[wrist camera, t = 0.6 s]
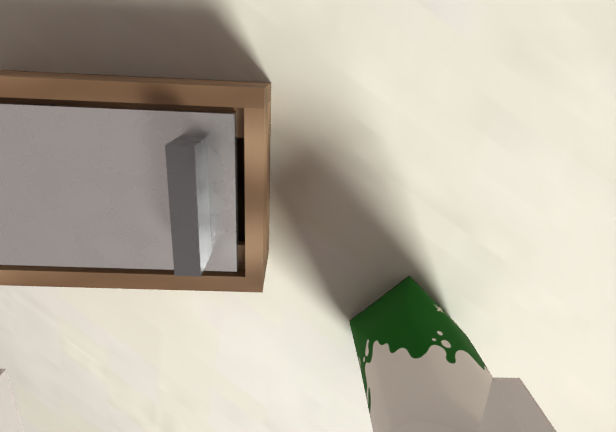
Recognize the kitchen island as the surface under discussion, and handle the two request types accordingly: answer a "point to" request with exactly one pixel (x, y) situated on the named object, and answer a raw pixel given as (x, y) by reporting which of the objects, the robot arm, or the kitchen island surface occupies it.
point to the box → (178, 96)
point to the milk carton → (418, 365)
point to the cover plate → (118, 188)
